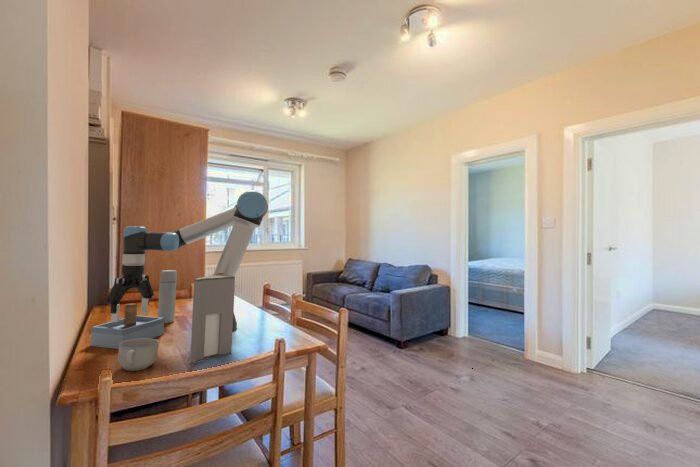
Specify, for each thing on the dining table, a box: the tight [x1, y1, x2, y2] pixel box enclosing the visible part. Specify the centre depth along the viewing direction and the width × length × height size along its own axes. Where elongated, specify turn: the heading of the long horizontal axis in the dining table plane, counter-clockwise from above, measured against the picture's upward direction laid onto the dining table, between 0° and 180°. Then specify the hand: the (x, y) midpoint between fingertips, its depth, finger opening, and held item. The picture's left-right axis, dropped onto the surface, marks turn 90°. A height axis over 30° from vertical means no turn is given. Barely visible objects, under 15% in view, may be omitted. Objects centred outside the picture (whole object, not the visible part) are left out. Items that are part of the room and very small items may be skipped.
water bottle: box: [157, 269, 178, 324], centre depth 158 cm, size 9×8×25 cm
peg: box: [123, 303, 138, 329], centre depth 129 cm, size 4×4×14 cm
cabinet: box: [189, 273, 236, 366], centre depth 117 cm, size 21×10×28 cm, turn 1°
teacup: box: [117, 338, 160, 372], centre depth 101 cm, size 14×11×8 cm
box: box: [89, 315, 165, 350], centre depth 129 cm, size 14×20×7 cm
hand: (130, 317), depth 129 cm, fingers open, 13 cm apart
